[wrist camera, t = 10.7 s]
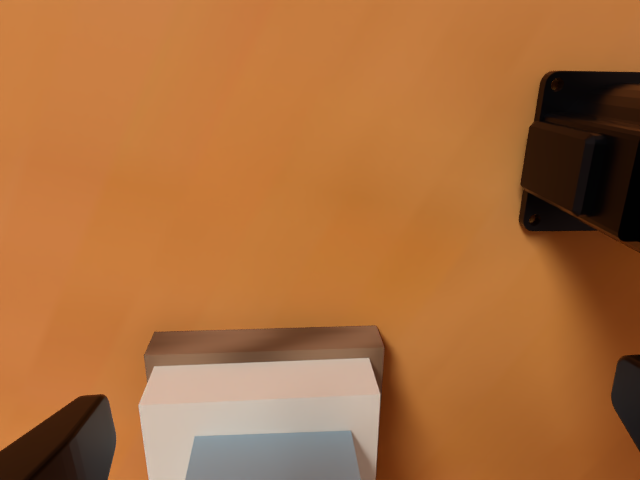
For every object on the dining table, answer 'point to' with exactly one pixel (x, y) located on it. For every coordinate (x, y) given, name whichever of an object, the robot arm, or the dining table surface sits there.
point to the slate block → (274, 457)
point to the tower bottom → (267, 347)
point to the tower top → (257, 407)
